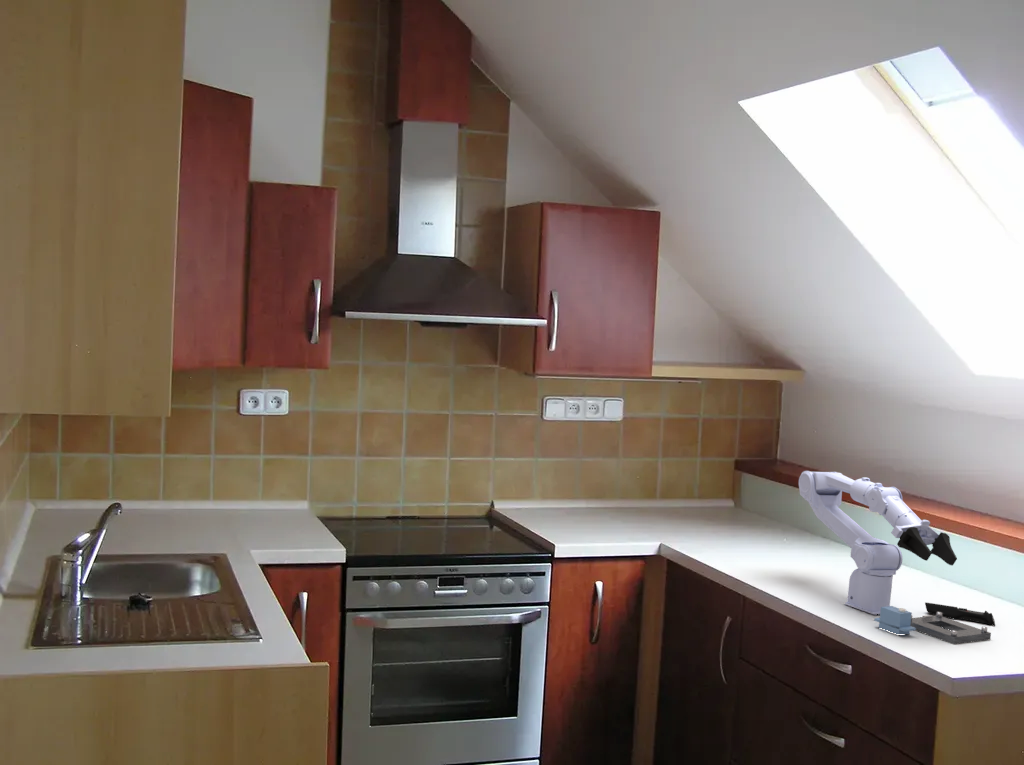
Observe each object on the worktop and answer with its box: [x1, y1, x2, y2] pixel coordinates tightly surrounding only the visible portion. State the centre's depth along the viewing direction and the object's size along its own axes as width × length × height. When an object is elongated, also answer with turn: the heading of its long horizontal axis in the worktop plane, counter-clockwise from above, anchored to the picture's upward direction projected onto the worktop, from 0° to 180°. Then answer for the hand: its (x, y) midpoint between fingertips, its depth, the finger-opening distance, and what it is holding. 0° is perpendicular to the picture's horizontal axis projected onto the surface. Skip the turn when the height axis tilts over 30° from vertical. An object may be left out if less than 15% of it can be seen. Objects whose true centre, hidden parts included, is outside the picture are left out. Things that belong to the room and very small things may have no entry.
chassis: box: [910, 612, 992, 645], centre depth 248 cm, size 14×12×2 cm
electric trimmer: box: [924, 602, 996, 626], centre depth 262 cm, size 4×16×3 cm, turn 65°
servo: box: [873, 605, 916, 634], centre depth 246 cm, size 8×4×6 cm, turn 30°
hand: (941, 559), depth 243 cm, fingers open, 7 cm apart
